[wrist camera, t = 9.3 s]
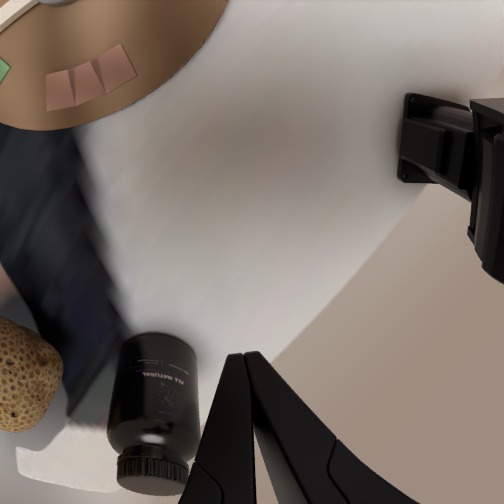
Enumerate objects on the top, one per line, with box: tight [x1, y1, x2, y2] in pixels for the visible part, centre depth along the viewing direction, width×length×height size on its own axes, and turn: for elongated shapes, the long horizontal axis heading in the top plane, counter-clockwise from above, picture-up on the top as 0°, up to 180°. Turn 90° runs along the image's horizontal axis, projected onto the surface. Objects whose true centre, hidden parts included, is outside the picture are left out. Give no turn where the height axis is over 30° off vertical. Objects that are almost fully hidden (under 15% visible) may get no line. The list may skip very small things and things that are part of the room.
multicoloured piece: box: [0, 0, 76, 32], centre depth 8 cm, size 10×4×5 cm, turn 110°
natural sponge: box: [0, 317, 63, 432], centre depth 18 cm, size 9×9×10 cm
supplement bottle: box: [107, 334, 201, 496], centre depth 20 cm, size 7×7×12 cm
